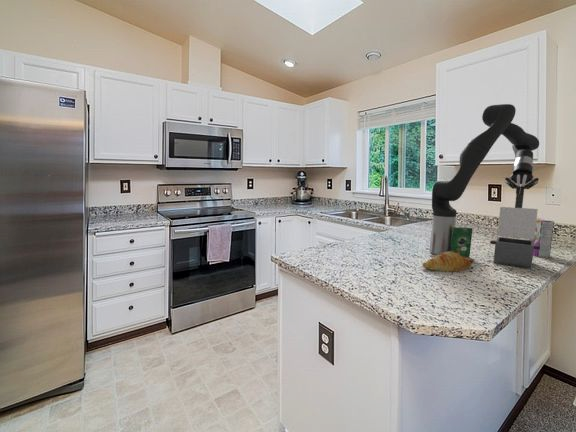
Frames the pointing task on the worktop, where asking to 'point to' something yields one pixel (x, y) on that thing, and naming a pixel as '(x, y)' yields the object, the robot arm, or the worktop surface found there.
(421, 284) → the worktop surface
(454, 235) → the coffee box
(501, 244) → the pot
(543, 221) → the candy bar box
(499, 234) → the lid
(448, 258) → the croissant
